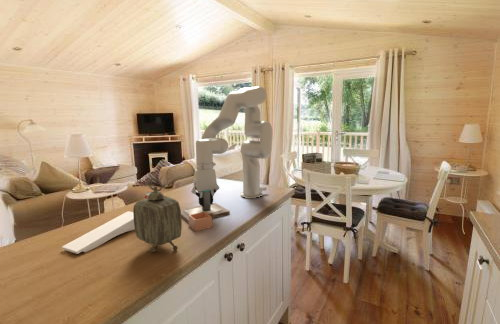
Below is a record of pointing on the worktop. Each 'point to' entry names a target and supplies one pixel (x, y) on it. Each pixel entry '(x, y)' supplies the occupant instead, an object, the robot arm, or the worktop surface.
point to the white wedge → (102, 234)
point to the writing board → (214, 212)
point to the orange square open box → (200, 221)
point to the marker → (206, 200)
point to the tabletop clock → (157, 218)
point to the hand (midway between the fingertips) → (206, 204)
